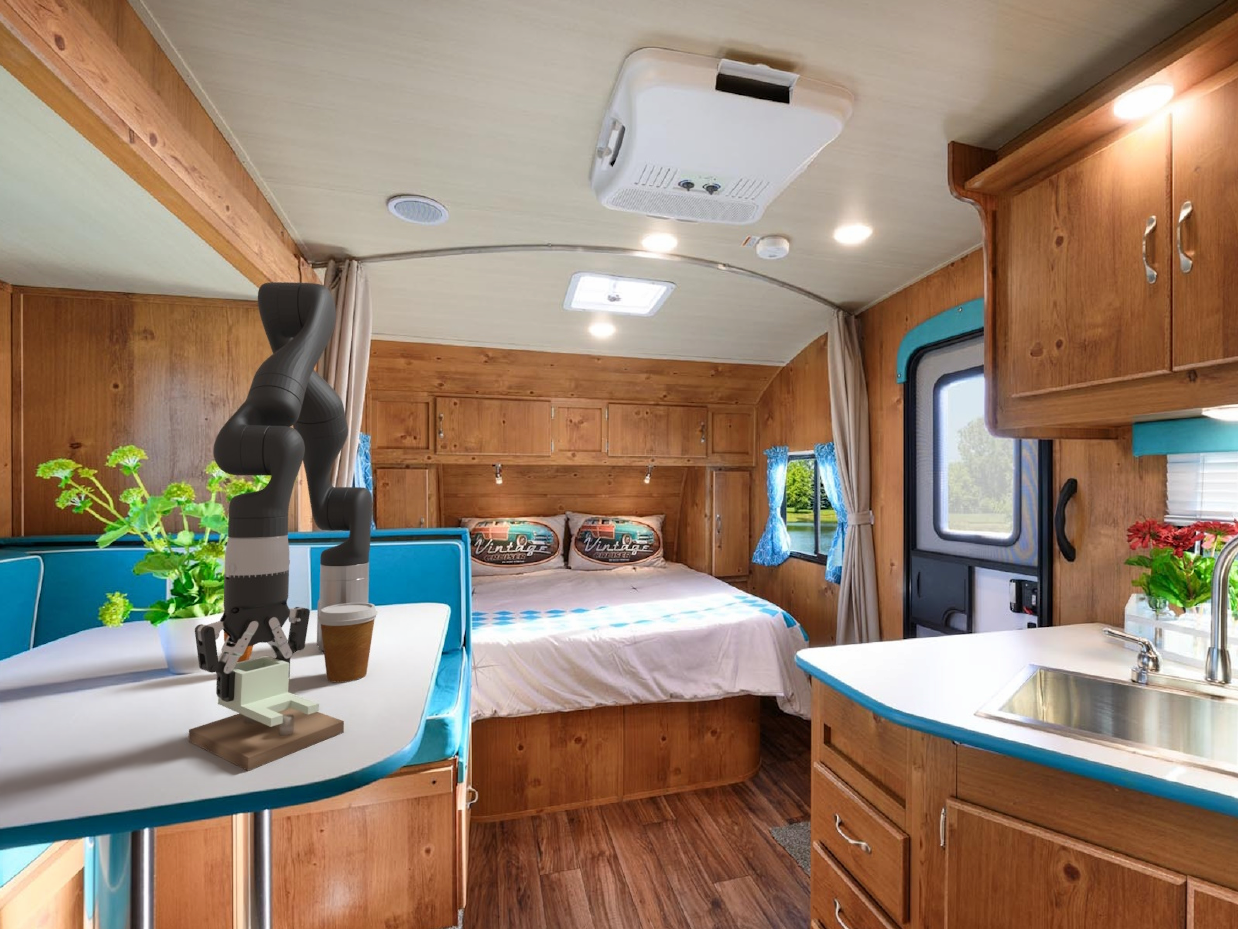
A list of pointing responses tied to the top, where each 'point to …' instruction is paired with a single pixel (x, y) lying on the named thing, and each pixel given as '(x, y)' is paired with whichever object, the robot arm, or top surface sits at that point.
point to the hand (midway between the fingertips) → (254, 692)
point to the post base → (264, 736)
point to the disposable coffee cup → (347, 639)
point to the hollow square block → (265, 691)
